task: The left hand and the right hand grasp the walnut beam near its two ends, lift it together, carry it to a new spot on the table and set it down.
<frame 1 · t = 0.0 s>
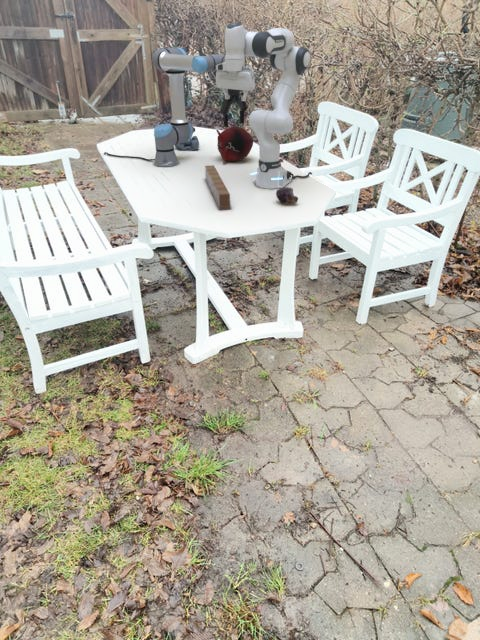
left hand: (234, 125, 259), 28 cm above the table, tool pointing down, fingers open, 13 cm apart
right hand: (235, 100, 210), 48 cm above the table, tool pointing down, fingers open, 8 cm apart
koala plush: (187, 148, 328), on the table
rock: (285, 203, 232), on the table
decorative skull: (234, 159, 302), on the table
beam: (216, 192, 246), on the table
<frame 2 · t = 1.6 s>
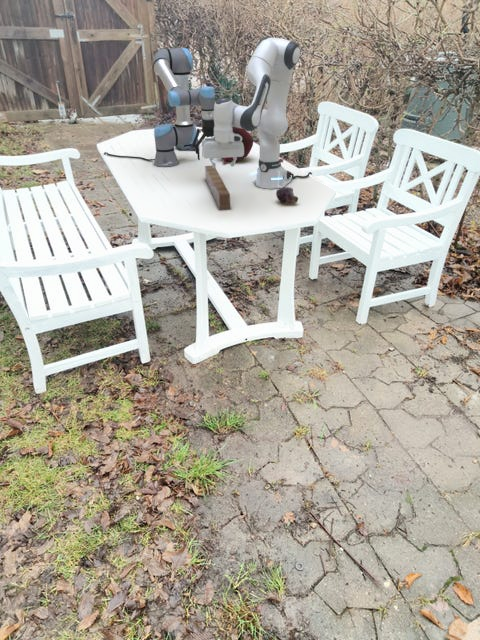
left hand: (210, 158, 256), 13 cm above the table, tool pointing down, fingers open, 13 cm apart
right hand: (223, 166, 218), 20 cm above the table, tool pointing down, fingers open, 8 cm apart
nothing on the table moved.
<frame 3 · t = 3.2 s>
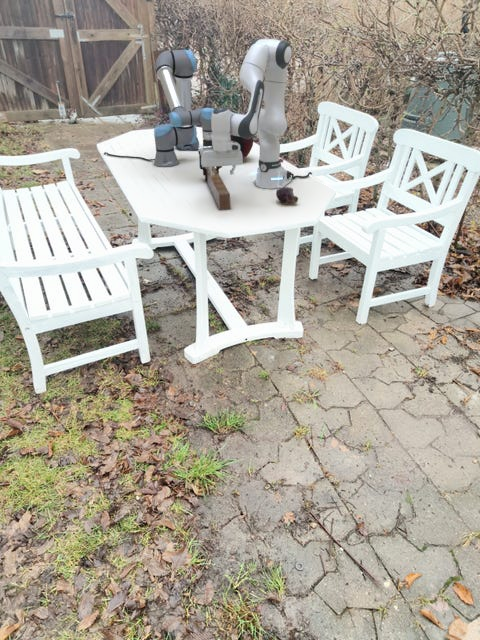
left hand: (211, 180, 263), 0 cm above the table, tool pointing down, fingers closed on beam, 5 cm apart
right hand: (222, 174, 220), 16 cm above the table, tool pointing down, fingers open, 8 cm apart
beam: (216, 192, 246), on the table, touching left hand
everything else where it was.
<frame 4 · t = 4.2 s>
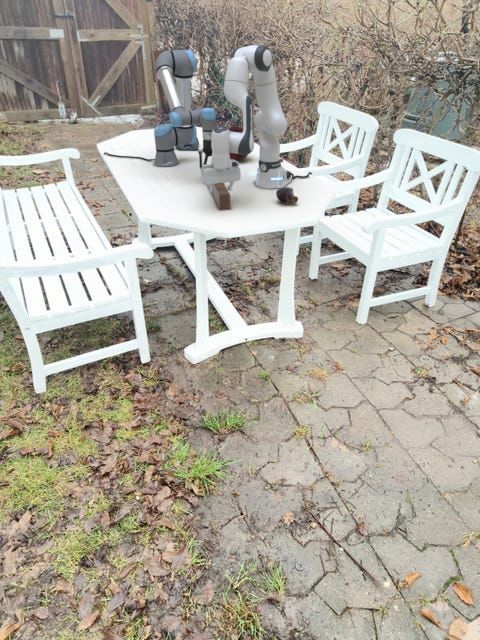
left hand: (211, 180, 263), 0 cm above the table, tool pointing down, fingers closed on beam, 5 cm apart
right hand: (220, 191, 225), 8 cm above the table, tool pointing down, fingers open, 8 cm apart
beam: (216, 192, 246), on the table, touching left hand, right hand
everything else where it was.
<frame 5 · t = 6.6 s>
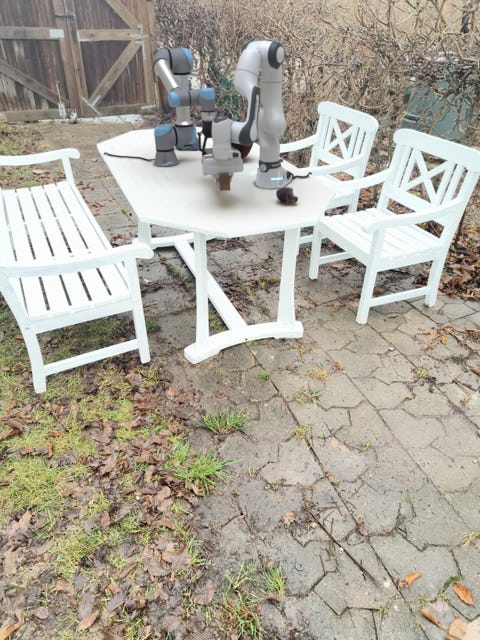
left hand: (210, 163, 258), 10 cm above the table, tool pointing down, fingers closed on beam, 5 cm apart
right hand: (223, 182, 222), 12 cm above the table, tool pointing down, fingers closed on beam, 5 cm apart
beam: (216, 175, 241), point 10 cm above the table, touching left hand, right hand
everything else where it was.
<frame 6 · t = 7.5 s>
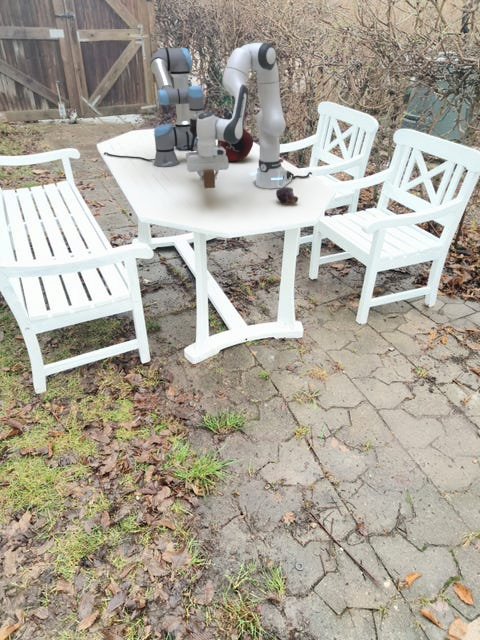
left hand: (199, 161, 257), 11 cm above the table, tool pointing down, fingers closed on beam, 5 cm apart
right hand: (208, 179, 221), 14 cm above the table, tool pointing down, fingers closed on beam, 5 cm apart
beam: (203, 173, 240), point 11 cm above the table, touching left hand, right hand
everything else where it was.
when the left hand's fingers open (2 cm above the table, at t = 10.0 s): beam drops 1 cm, on the table.
when the right hand's fingers open (4 cm above the table, at t = 10.2 s): beam stays where it is, on the table.
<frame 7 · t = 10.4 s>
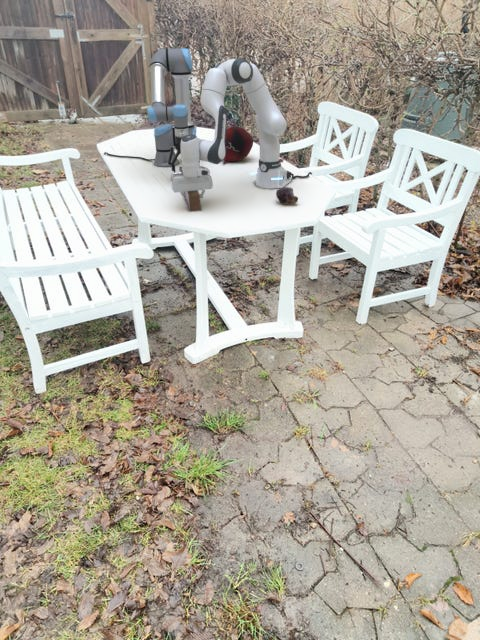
left hand: (185, 175, 260), 4 cm above the table, tool pointing down, fingers open, 11 cm apart
right hand: (193, 198, 226), 4 cm above the table, tool pointing down, fingers open, 7 cm apart
beam: (189, 193, 245), on the table
everything else where it was.
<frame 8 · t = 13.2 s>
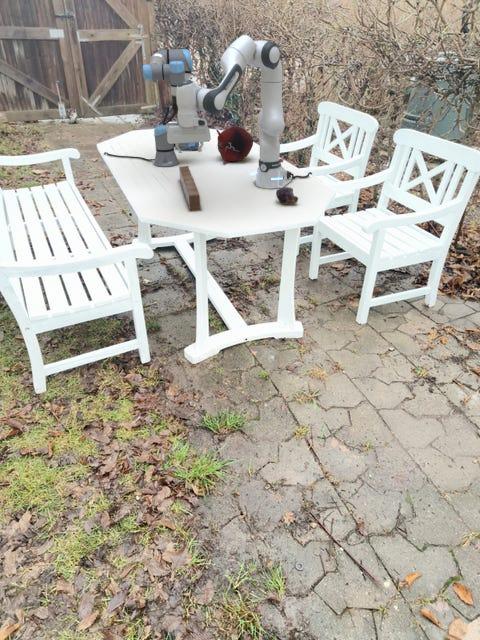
left hand: (182, 137, 248), 25 cm above the table, tool pointing down, fingers open, 13 cm apart
right hand: (189, 152, 213), 27 cm above the table, tool pointing down, fingers open, 8 cm apart
nothing on the table moved.
at the end: beam inside the target area (0.0 cm from its centre), on the table; beam tilted 0°; beam never tilted more than 2° during the clip; both hands held the beam at the same time; the left hand is holding nothing; the right hand is holding nothing; beam at rest at the end (0.0 cm/s) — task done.
